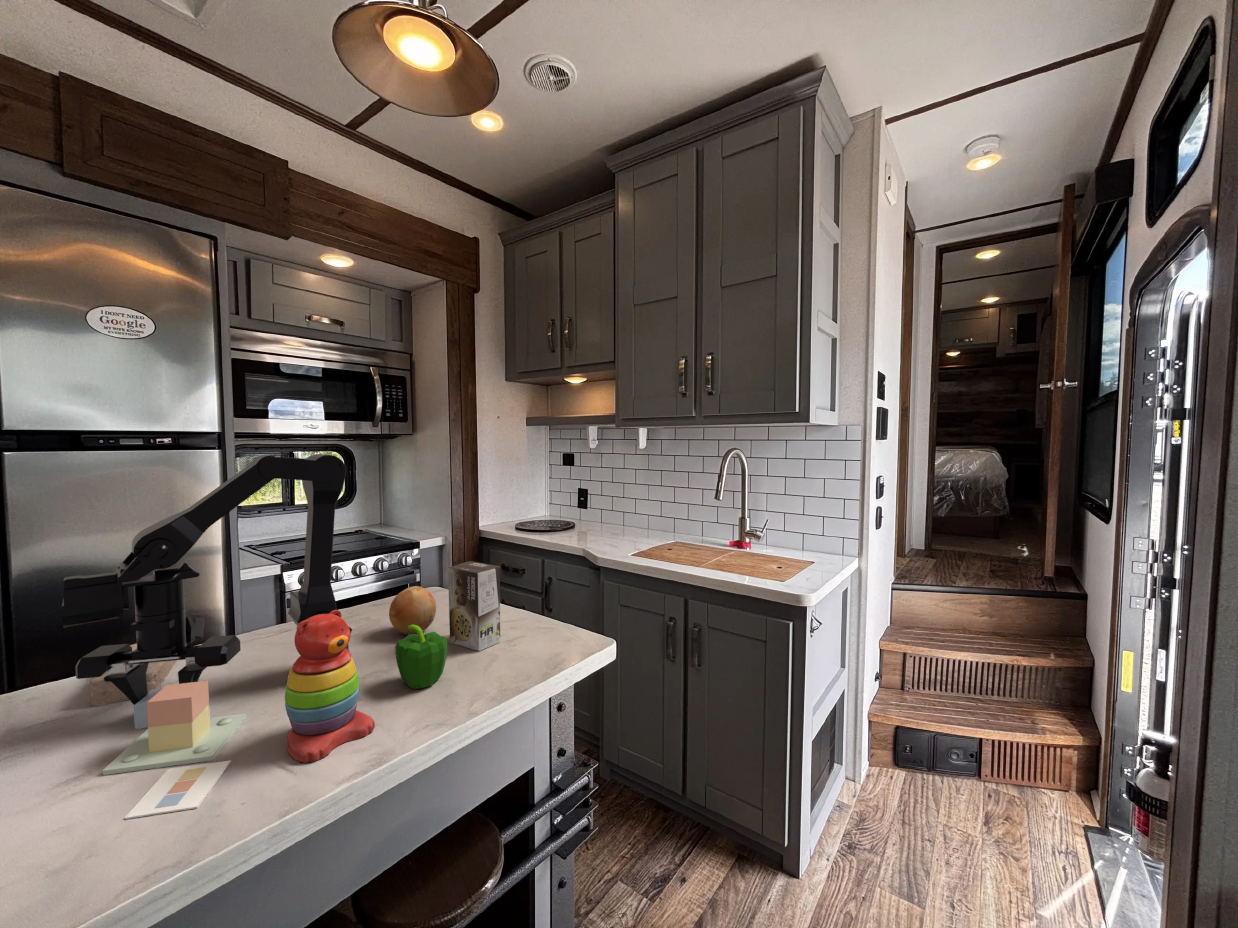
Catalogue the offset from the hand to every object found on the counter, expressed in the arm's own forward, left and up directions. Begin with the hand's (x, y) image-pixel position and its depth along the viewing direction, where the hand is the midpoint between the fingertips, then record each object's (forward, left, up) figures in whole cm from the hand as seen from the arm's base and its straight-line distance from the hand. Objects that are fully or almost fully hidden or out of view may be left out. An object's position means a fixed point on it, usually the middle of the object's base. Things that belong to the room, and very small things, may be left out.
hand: (165, 709), depth 82 cm
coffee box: (-46, -18, -1) cm, 49 cm away
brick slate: (0, 0, -1) cm, 1 cm away
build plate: (-6, +9, -1) cm, 11 cm away
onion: (-33, -27, -1) cm, 43 cm away
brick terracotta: (-6, +9, +3) cm, 11 cm away
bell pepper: (-37, -2, -1) cm, 37 cm away
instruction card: (-11, +20, -1) cm, 23 cm away
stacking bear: (-25, +12, -1) cm, 28 cm away
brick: (+11, -15, -2) cm, 19 cm away
